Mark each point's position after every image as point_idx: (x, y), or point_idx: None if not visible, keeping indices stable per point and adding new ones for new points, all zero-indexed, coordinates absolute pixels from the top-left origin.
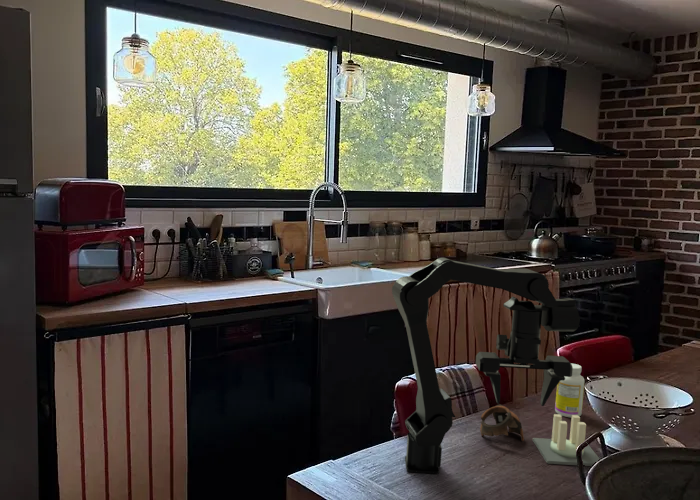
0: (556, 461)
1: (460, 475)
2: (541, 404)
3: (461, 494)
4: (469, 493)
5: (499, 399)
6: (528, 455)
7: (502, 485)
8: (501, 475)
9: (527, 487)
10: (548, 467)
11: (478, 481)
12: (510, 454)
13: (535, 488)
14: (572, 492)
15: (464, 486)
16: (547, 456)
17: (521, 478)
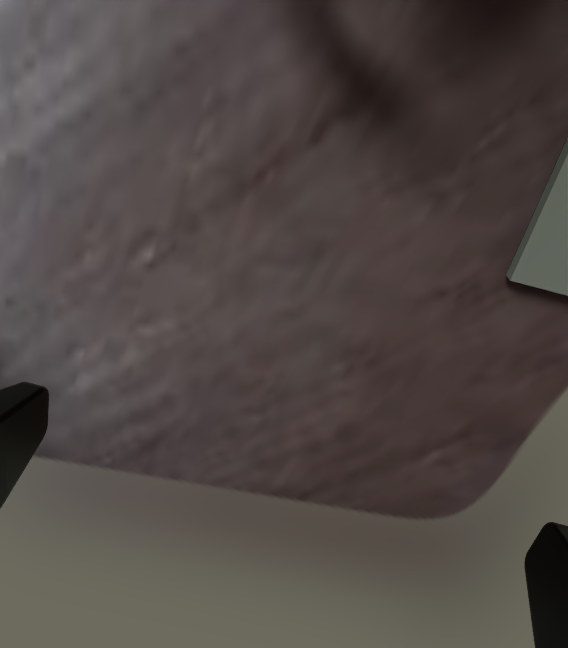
0: (559, 293)
1: (22, 324)
2: (533, 556)
3: None
4: None
5: (9, 486)
6: (465, 162)
7: (175, 423)
8: (203, 351)
9: (271, 452)
10: (482, 314)
11: (87, 381)
12: (360, 136)
13: (300, 463)
14: (433, 511)
15: None
16: (552, 230)
17: (282, 388)
